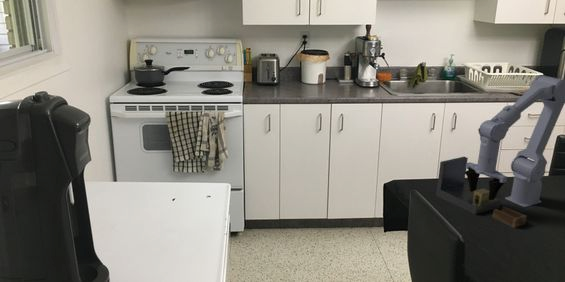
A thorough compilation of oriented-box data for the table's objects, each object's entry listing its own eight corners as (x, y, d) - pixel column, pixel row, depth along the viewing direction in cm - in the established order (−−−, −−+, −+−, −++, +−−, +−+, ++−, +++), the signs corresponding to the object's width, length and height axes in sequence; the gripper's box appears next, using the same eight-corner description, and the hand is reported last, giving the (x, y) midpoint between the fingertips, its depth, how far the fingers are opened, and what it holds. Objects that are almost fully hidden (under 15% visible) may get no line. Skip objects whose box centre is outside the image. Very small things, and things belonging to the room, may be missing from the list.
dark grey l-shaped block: (459, 189, 179) (464, 156, 175) (499, 207, 165) (505, 172, 161) (436, 195, 173) (440, 161, 169) (475, 215, 159) (480, 178, 155)
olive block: (480, 204, 167) (483, 188, 165) (488, 207, 164) (491, 191, 162) (471, 206, 165) (474, 190, 163) (479, 210, 162) (482, 194, 160)
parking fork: (503, 214, 160) (504, 206, 159) (525, 224, 154) (526, 216, 153) (492, 217, 158) (493, 209, 157) (514, 228, 151) (515, 219, 150)
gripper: (461, 152, 163) (456, 189, 167) (499, 166, 151) (492, 205, 155) (476, 149, 166) (470, 185, 171) (513, 162, 155) (506, 201, 159)
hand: (481, 195), depth 163 cm, fingers open, 7 cm apart
